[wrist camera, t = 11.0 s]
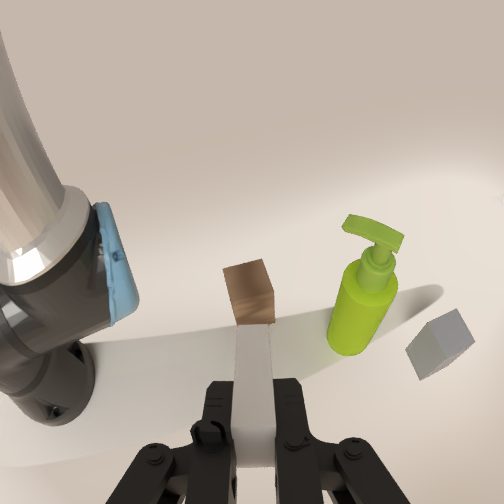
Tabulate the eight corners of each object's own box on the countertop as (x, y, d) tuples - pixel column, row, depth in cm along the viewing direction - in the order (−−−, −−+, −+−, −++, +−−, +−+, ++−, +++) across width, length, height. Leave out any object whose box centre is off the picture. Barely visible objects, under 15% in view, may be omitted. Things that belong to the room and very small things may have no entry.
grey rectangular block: (419, 380, 35) (446, 358, 29) (405, 349, 38) (427, 322, 32) (448, 365, 36) (476, 341, 30) (433, 336, 39) (457, 308, 33)
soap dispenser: (332, 306, 44) (357, 197, 28) (375, 328, 41) (425, 226, 25) (312, 340, 41) (332, 238, 25) (358, 363, 38) (409, 273, 23)
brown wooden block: (239, 332, 42) (231, 302, 36) (230, 302, 46) (222, 268, 39) (275, 322, 43) (275, 290, 37) (265, 292, 46) (263, 258, 40)
